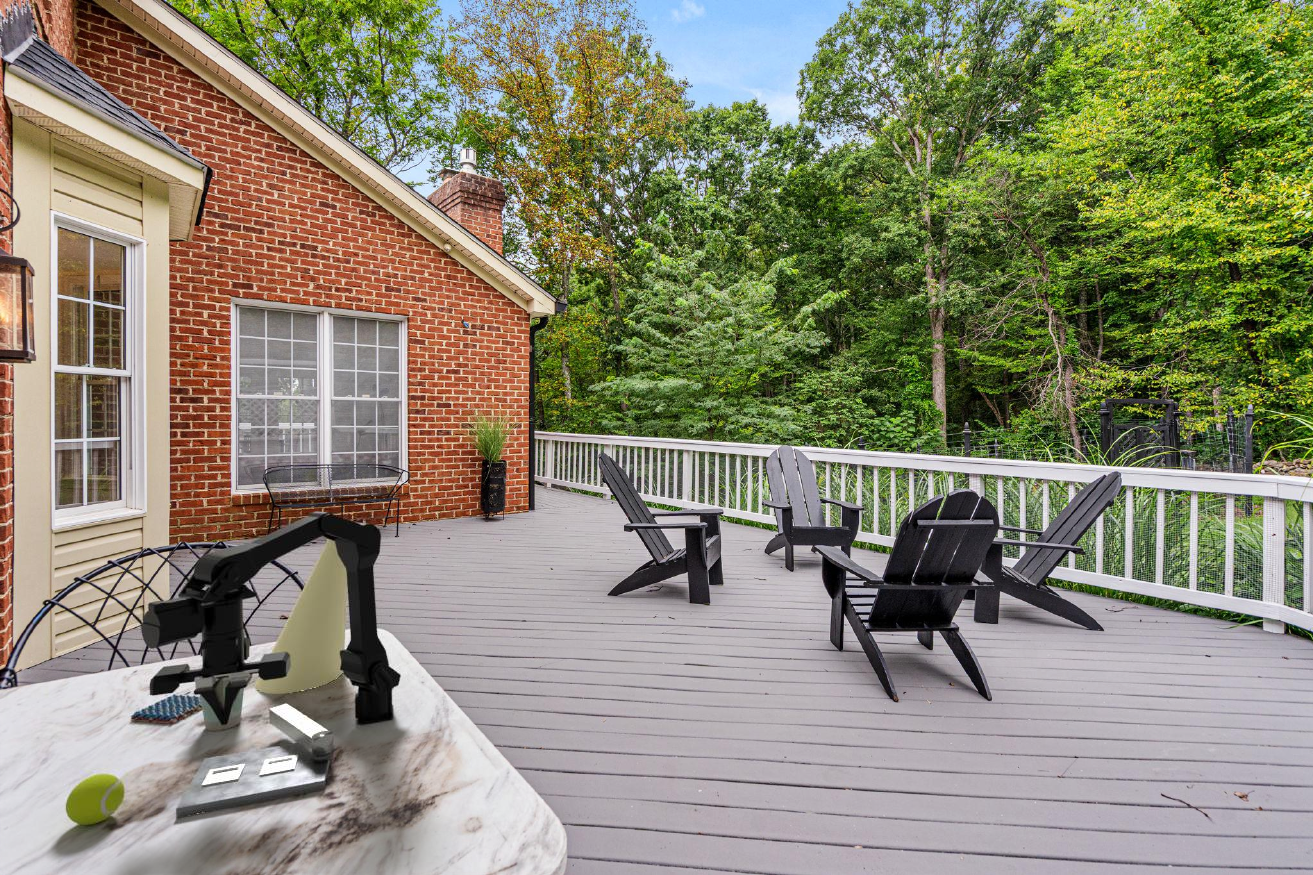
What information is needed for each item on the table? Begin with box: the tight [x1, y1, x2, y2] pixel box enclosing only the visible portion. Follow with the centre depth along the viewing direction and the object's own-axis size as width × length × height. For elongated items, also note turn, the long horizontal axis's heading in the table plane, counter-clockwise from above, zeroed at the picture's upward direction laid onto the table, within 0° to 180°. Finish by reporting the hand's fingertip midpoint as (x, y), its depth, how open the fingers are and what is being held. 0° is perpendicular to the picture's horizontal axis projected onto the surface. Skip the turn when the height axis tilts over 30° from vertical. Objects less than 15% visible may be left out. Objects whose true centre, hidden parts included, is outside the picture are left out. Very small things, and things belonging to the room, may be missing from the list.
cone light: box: [254, 538, 348, 695], centre depth 152 cm, size 25×18×35 cm
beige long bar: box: [268, 703, 334, 756], centre depth 118 cm, size 21×3×3 cm, turn 50°
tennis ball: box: [65, 773, 125, 826], centre depth 98 cm, size 7×7×7 cm
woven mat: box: [130, 693, 202, 724], centre depth 136 cm, size 10×11×2 cm
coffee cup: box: [198, 661, 246, 732], centre depth 129 cm, size 8×8×12 cm
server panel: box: [175, 742, 334, 819], centre depth 110 cm, size 21×16×2 cm
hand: (225, 723), depth 108 cm, fingers closed
